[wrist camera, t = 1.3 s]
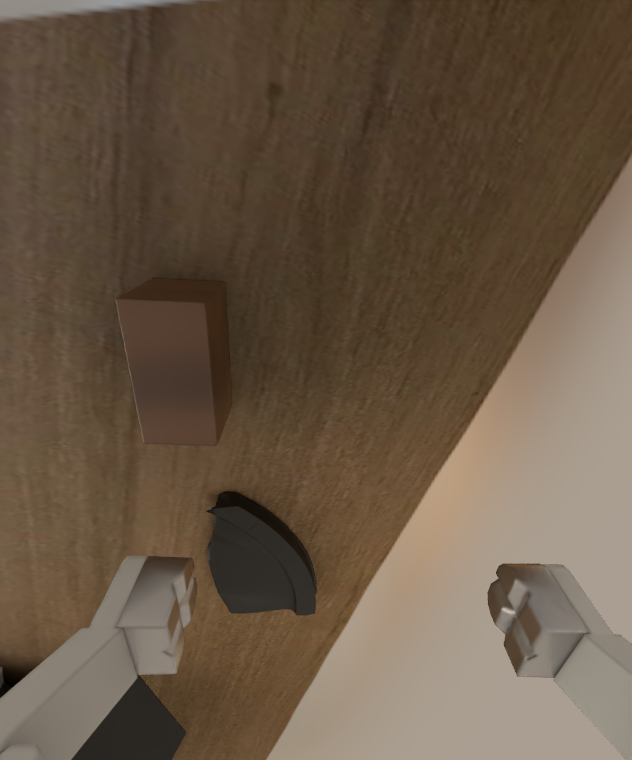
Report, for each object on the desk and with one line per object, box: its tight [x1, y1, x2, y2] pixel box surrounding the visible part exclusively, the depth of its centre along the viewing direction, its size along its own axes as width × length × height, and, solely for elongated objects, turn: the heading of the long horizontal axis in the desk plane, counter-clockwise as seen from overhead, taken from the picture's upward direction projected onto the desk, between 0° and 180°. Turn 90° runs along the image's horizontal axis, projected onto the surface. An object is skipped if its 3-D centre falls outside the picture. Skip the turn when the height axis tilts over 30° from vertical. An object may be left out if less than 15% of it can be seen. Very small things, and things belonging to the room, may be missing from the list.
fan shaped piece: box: [206, 493, 317, 615], centre depth 30 cm, size 8×14×2 cm, turn 6°
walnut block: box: [115, 278, 232, 446], centre depth 20 cm, size 8×4×4 cm, turn 177°
